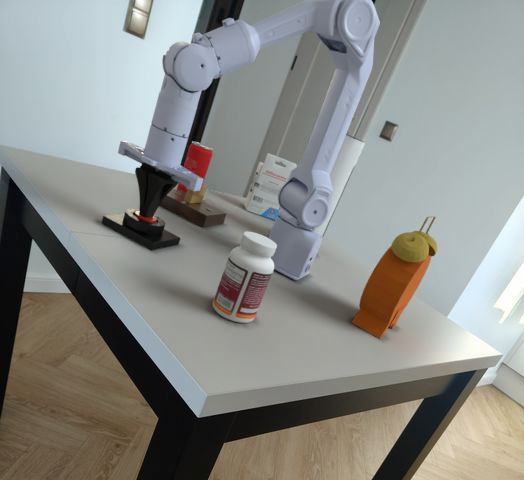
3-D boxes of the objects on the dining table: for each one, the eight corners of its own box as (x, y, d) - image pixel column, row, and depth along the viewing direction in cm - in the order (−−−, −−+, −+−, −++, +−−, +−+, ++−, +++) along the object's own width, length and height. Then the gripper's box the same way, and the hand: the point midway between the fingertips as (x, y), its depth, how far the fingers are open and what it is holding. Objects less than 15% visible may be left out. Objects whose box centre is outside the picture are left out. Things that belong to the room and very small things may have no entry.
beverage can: (172, 191, 116) (188, 138, 111) (193, 197, 119) (209, 146, 114) (178, 199, 113) (195, 144, 108) (200, 204, 115) (217, 152, 110)
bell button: (158, 229, 84) (161, 219, 83) (145, 231, 81) (148, 221, 80) (141, 220, 85) (143, 210, 84) (127, 221, 82) (130, 211, 81)
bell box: (178, 244, 86) (183, 228, 85) (151, 250, 79) (157, 232, 78) (131, 219, 88) (135, 203, 87) (101, 223, 81) (105, 205, 80)
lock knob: (196, 200, 107) (201, 182, 105) (201, 202, 107) (207, 185, 105) (184, 200, 103) (189, 182, 101) (189, 203, 102) (195, 185, 101)
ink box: (273, 215, 135) (294, 161, 128) (276, 221, 130) (298, 164, 124) (243, 205, 132) (263, 148, 126) (245, 210, 128) (266, 152, 122)
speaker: (316, 260, 111) (370, 141, 100) (272, 243, 110) (321, 120, 99) (314, 248, 121) (363, 137, 110) (274, 231, 120) (319, 118, 108)
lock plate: (223, 224, 108) (227, 212, 107) (202, 227, 100) (206, 214, 99) (177, 200, 111) (181, 189, 110) (153, 202, 103) (157, 189, 102)
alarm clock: (368, 309, 95) (421, 208, 87) (397, 325, 93) (454, 223, 85) (345, 322, 84) (403, 208, 75) (378, 341, 82) (441, 225, 73)
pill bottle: (253, 311, 73) (281, 240, 69) (253, 329, 68) (285, 254, 63) (212, 297, 72) (238, 224, 67) (209, 314, 67) (238, 237, 62)
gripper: (114, 109, 74) (94, 197, 80) (196, 148, 71) (169, 237, 77) (143, 114, 80) (122, 196, 86) (219, 151, 78) (192, 233, 83)
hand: (146, 215), depth 82 cm, fingers closed, pressing on bell button
